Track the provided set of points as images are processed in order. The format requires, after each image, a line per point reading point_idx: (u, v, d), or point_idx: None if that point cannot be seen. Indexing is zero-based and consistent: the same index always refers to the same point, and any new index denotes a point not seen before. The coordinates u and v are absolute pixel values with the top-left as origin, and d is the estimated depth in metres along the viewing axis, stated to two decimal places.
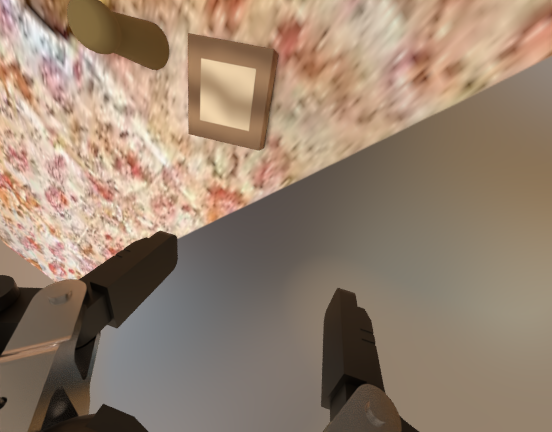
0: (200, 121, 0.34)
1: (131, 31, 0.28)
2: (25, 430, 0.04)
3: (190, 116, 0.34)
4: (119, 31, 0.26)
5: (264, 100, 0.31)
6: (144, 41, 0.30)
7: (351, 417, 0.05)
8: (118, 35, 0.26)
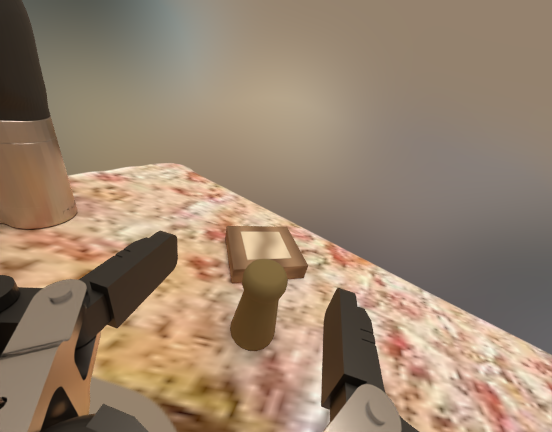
0: (292, 258, 0.39)
1: None
2: (25, 430, 0.04)
3: (293, 264, 0.38)
4: None
5: (256, 227, 0.45)
6: None
7: (351, 417, 0.05)
8: None
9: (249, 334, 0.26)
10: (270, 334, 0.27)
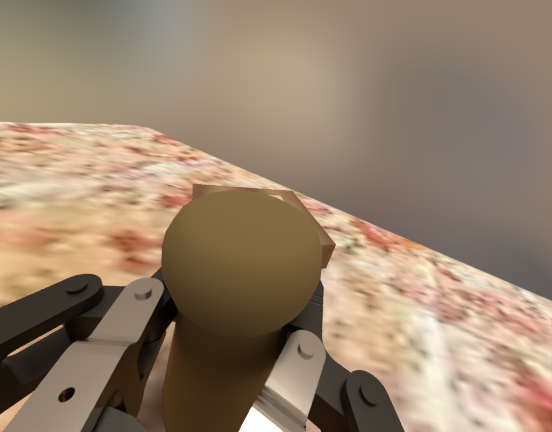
0: None
1: None
2: None
3: None
4: None
5: (243, 188, 0.28)
6: None
7: (282, 351, 0.06)
8: None
9: (200, 425, 0.08)
10: None
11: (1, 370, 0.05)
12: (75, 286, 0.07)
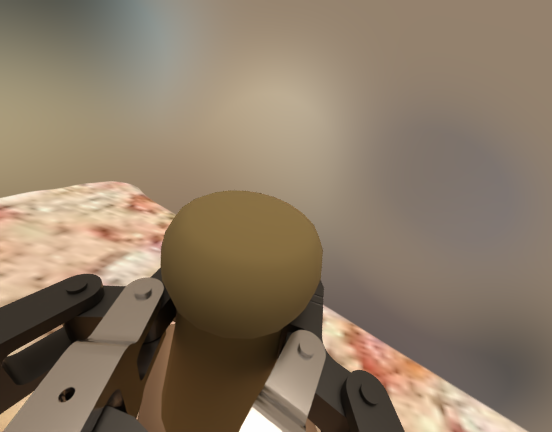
0: None
1: None
2: None
3: None
4: None
5: None
6: None
7: (282, 351, 0.06)
8: None
9: (199, 427, 0.08)
10: None
11: (1, 370, 0.05)
12: (75, 286, 0.07)
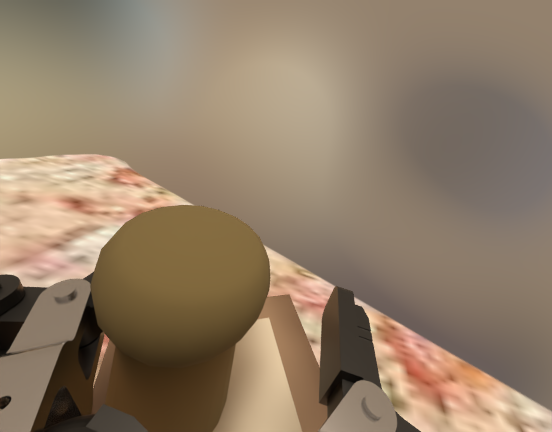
0: None
1: None
2: (28, 430, 0.04)
3: None
4: None
5: None
6: None
7: (347, 412, 0.05)
8: None
9: None
10: (208, 424, 0.10)
11: None
12: None
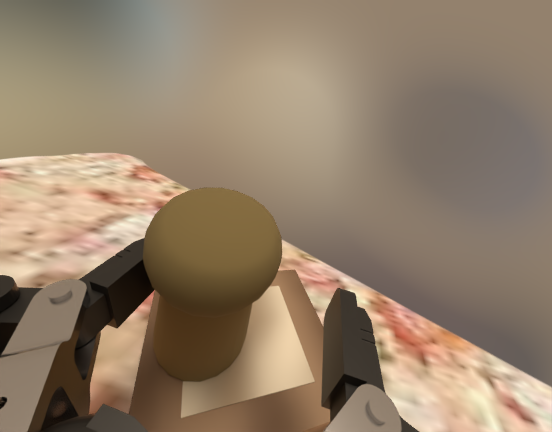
0: (317, 381, 0.14)
1: None
2: (25, 430, 0.04)
3: (323, 415, 0.13)
4: None
5: None
6: None
7: (351, 417, 0.05)
8: None
9: (180, 360, 0.11)
10: (233, 353, 0.13)
11: None
12: None
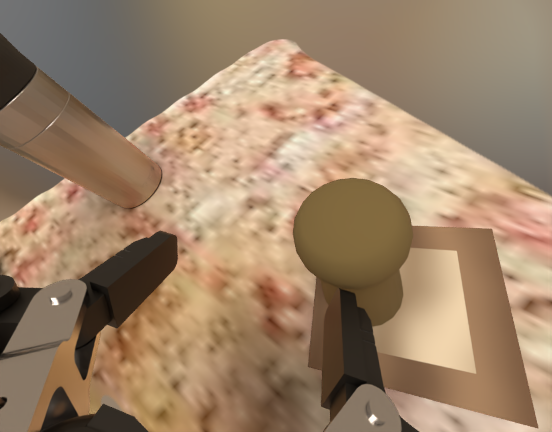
0: (479, 374, 0.14)
1: None
2: (25, 430, 0.04)
3: (476, 405, 0.13)
4: None
5: None
6: None
7: (351, 417, 0.05)
8: None
9: None
10: (380, 316, 0.14)
11: None
12: None
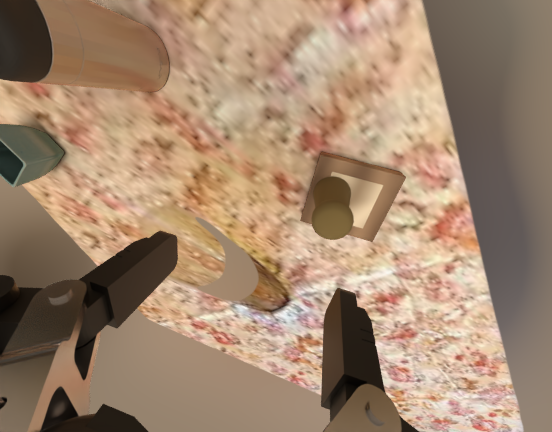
0: (363, 228, 0.37)
1: (332, 194, 0.29)
2: (25, 430, 0.04)
3: (357, 235, 0.38)
4: (338, 200, 0.27)
5: (358, 167, 0.33)
6: (337, 189, 0.31)
7: (351, 417, 0.05)
8: (341, 201, 0.27)
9: None
10: None
11: None
12: None
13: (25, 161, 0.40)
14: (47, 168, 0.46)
